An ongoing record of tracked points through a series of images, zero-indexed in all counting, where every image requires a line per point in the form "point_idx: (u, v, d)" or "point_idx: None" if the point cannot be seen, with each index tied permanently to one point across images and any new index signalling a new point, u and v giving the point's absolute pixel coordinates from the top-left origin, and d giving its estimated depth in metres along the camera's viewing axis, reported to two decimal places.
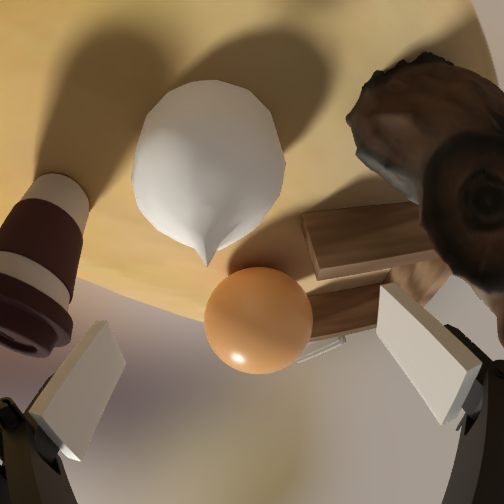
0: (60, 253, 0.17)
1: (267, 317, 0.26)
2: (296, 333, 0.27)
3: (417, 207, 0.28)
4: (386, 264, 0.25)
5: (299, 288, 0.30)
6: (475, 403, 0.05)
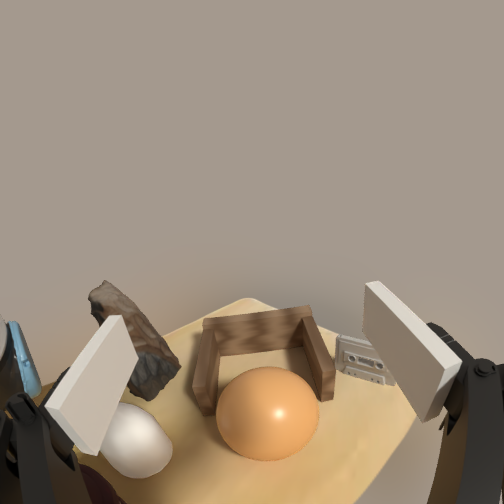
0: None
1: None
2: None
3: None
4: (204, 356, 0.43)
5: None
6: (456, 402, 0.06)
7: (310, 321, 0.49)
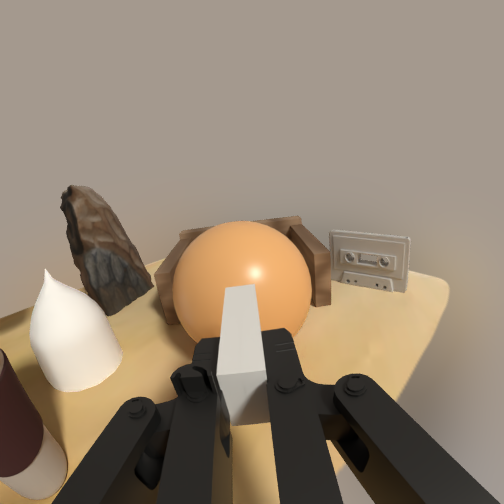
0: None
1: None
2: None
3: None
4: (176, 254, 0.38)
5: None
6: None
7: (299, 227, 0.45)
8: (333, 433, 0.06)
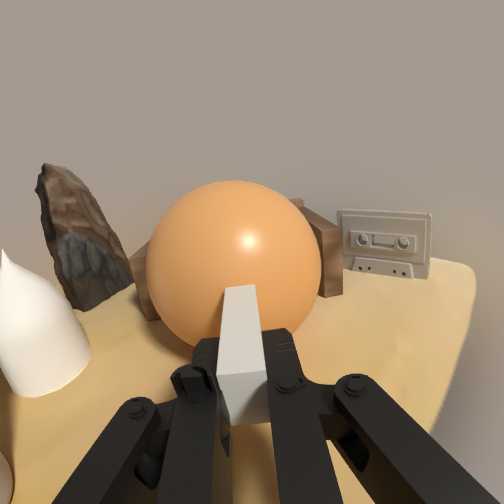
0: None
1: None
2: None
3: None
4: None
5: None
6: None
7: (301, 208, 0.39)
8: (333, 433, 0.06)
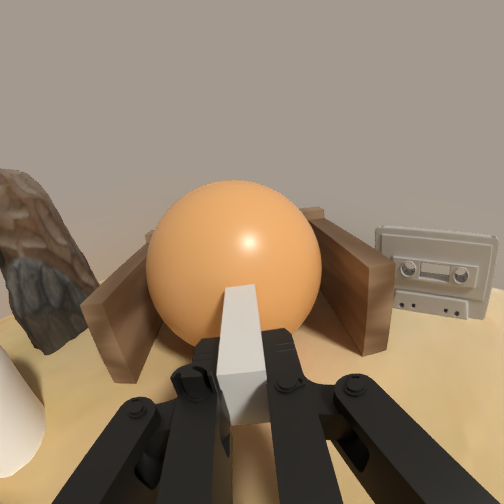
0: None
1: None
2: None
3: None
4: (129, 267, 0.23)
5: None
6: None
7: (323, 221, 0.29)
8: (333, 433, 0.06)
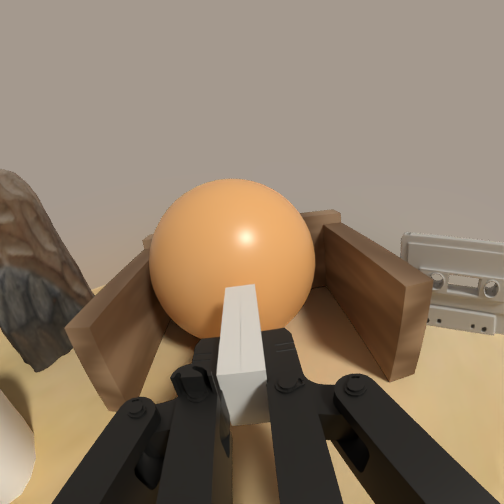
0: None
1: None
2: None
3: None
4: (123, 279, 0.20)
5: None
6: None
7: (340, 227, 0.26)
8: (333, 433, 0.06)
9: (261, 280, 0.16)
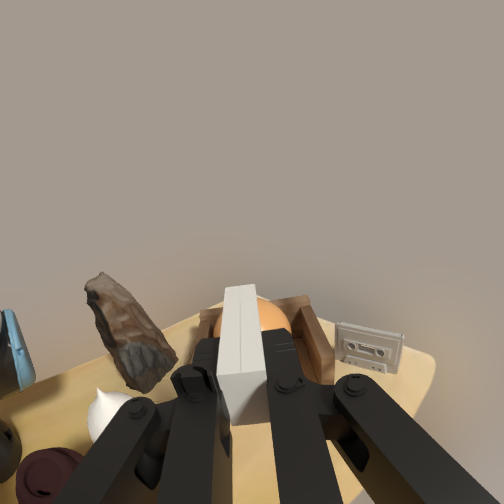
0: None
1: None
2: None
3: None
4: None
5: None
6: None
7: (308, 310, 0.49)
8: (333, 433, 0.06)
9: None
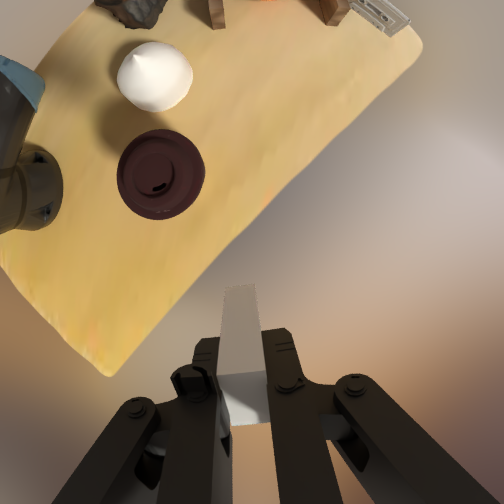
0: None
1: None
2: None
3: None
4: None
5: None
6: None
7: None
8: (333, 433, 0.06)
9: None
